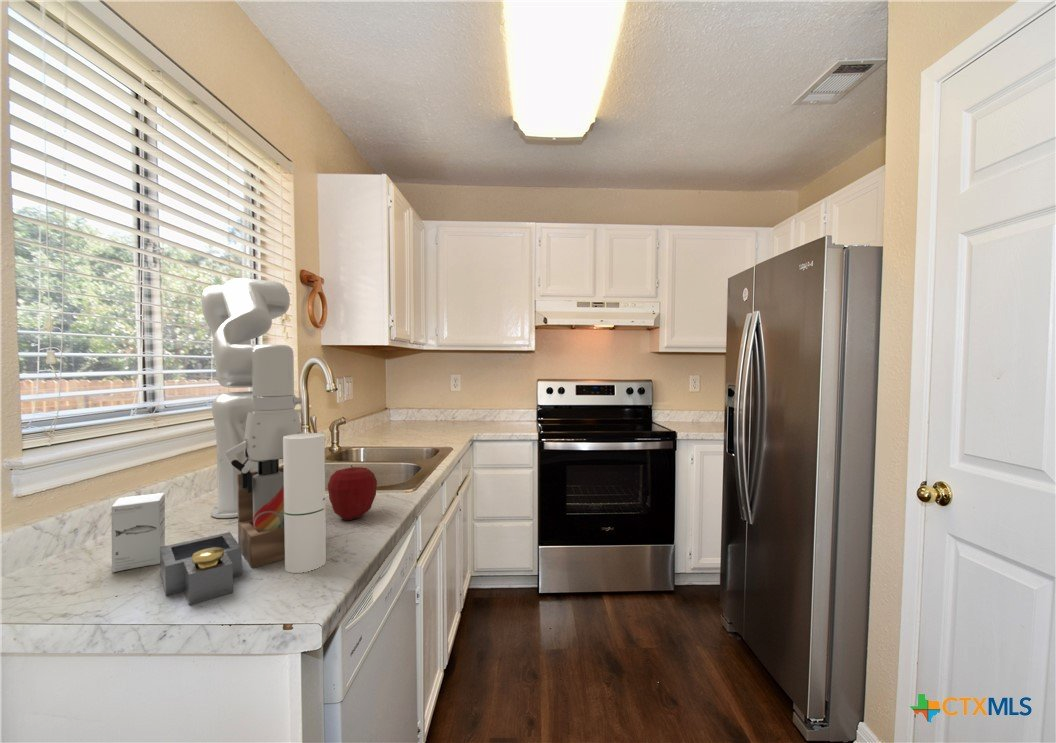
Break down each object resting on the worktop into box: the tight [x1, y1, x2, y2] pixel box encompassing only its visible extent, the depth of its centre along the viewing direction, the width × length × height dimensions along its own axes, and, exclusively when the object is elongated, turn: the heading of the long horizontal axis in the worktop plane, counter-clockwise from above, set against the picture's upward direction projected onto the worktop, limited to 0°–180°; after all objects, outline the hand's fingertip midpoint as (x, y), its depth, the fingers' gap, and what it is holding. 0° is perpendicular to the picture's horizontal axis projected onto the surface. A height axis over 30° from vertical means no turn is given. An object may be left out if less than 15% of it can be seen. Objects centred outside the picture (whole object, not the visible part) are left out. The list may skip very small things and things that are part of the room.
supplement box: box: [110, 492, 166, 574], centre depth 90 cm, size 7×7×13 cm
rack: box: [237, 466, 285, 569], centre depth 95 cm, size 12×11×16 cm
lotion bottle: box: [253, 459, 284, 533], centre depth 94 cm, size 6×6×20 cm
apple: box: [327, 464, 378, 521], centre depth 115 cm, size 12×12×13 cm
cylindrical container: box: [282, 432, 327, 574], centre depth 88 cm, size 7×7×25 cm
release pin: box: [192, 547, 224, 569], centre depth 77 cm, size 4×4×6 cm
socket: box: [159, 531, 243, 606], centre depth 82 cm, size 18×11×5 cm, turn 43°
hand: (274, 486), depth 94 cm, fingers open, 9 cm apart
